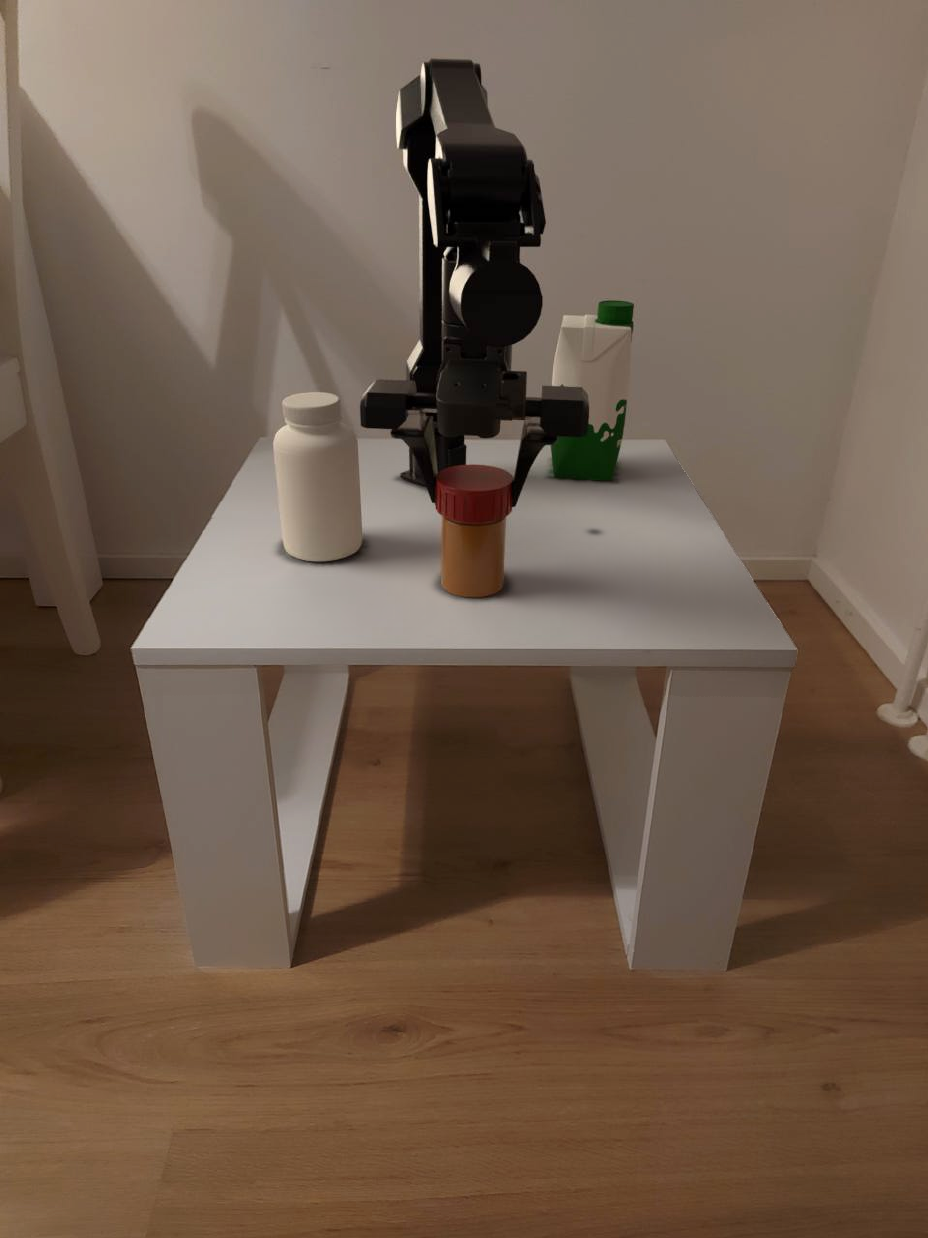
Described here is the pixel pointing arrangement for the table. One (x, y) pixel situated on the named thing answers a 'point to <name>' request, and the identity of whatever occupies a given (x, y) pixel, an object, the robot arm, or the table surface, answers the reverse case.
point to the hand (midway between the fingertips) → (473, 503)
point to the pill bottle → (317, 479)
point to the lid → (474, 493)
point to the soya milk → (595, 388)
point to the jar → (472, 557)
